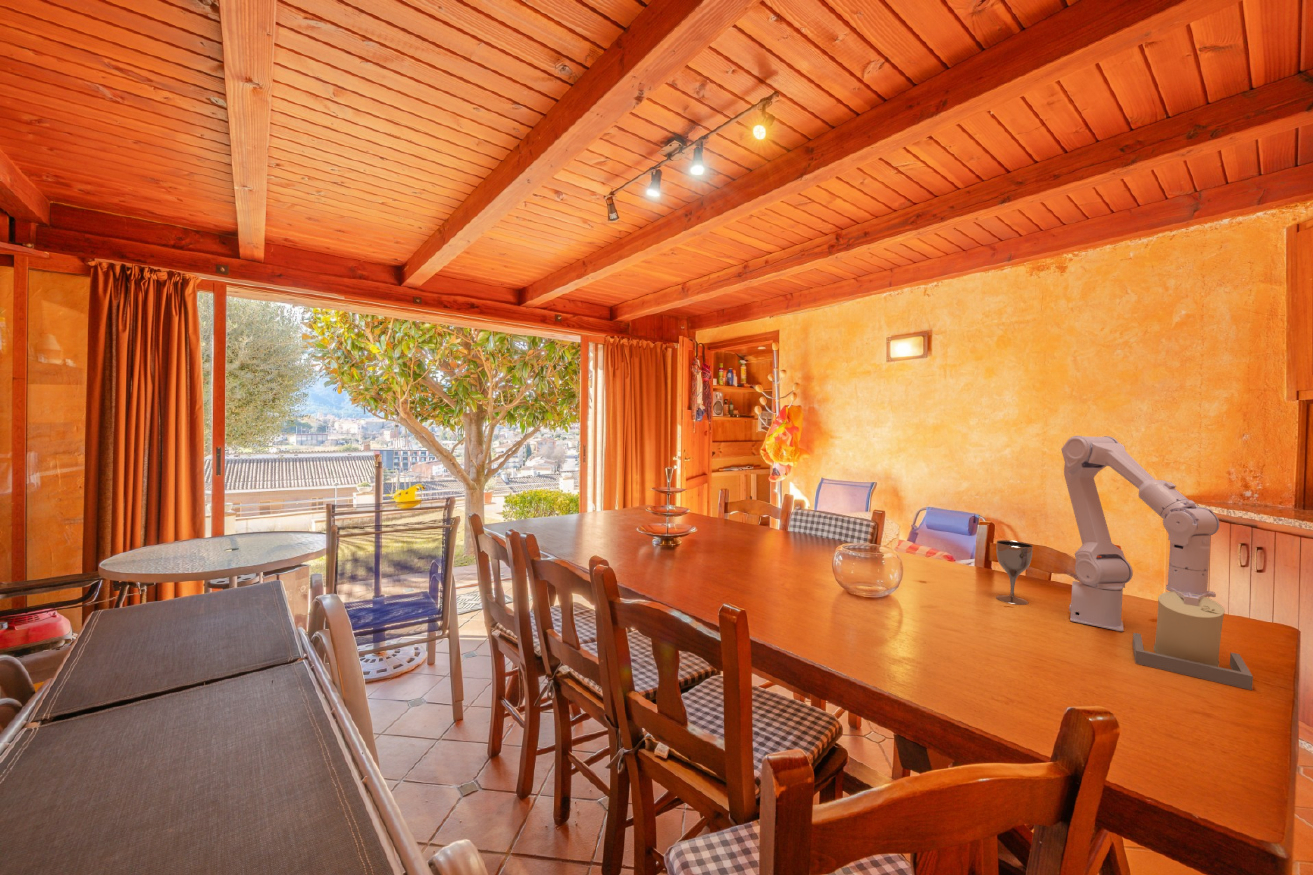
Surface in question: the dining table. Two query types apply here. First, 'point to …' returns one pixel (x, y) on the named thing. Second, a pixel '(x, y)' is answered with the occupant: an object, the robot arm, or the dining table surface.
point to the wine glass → (1013, 564)
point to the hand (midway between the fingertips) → (1184, 633)
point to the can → (1189, 629)
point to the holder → (1195, 666)
